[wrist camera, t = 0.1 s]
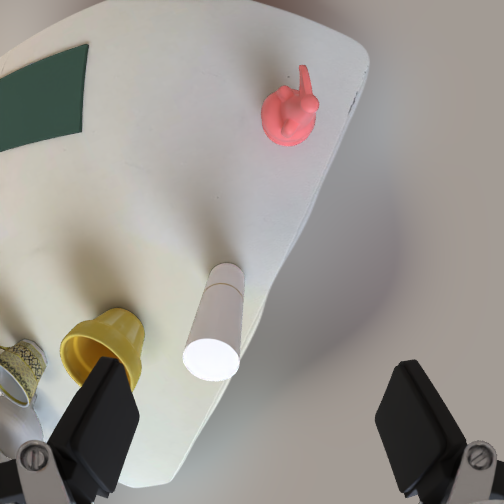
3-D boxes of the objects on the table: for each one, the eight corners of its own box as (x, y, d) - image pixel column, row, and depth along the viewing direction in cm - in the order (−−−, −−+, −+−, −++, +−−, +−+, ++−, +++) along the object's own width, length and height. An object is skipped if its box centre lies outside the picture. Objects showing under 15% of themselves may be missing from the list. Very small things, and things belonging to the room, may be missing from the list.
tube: (211, 260, 34) (184, 333, 20) (247, 266, 35) (243, 344, 20) (206, 292, 36) (181, 375, 22) (241, 298, 36) (234, 385, 22)
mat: (-7, 83, 25) (-9, 83, 25) (88, 44, 25) (86, 43, 25) (-11, 155, 29) (-14, 155, 29) (81, 132, 29) (79, 131, 29)
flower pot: (79, 312, 37) (45, 349, 28) (124, 282, 35) (90, 321, 26) (122, 364, 40) (99, 407, 31) (171, 342, 38) (152, 390, 29)
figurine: (256, 103, 29) (258, 61, 14) (304, 100, 28) (343, 60, 14) (261, 148, 30) (268, 143, 16) (309, 145, 30) (354, 139, 16)
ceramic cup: (61, 362, 41) (35, 398, 31) (45, 381, 43) (22, 413, 33) (13, 309, 38) (-21, 337, 28) (1, 333, 40) (-27, 361, 30)
